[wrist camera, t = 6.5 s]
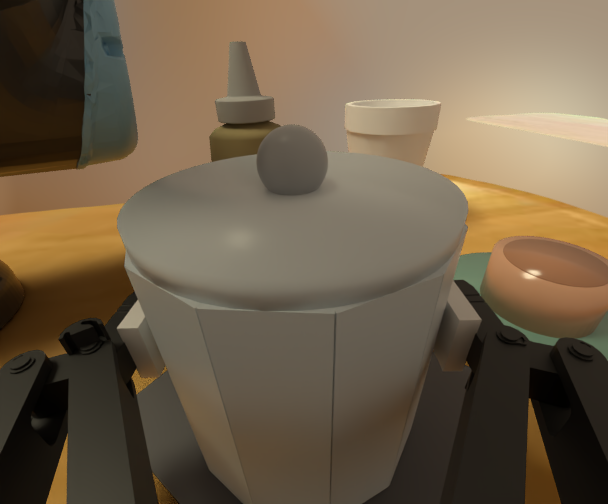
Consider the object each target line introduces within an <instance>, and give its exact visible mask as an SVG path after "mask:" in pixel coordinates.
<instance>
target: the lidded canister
mask: <svg viewBox="0 0 608 504" xmlns="http://www.w3.org/2000/svg"><path fill="white" fill-rule="evenodd" d="M467 214H468V202H467V200H466V197H465V195H464V193H463V192H462V191H461V190H460V189H459V188H458V186H457V185H455V184H454V183H453V182H451V181H450V180H449V179H447V178H445V177H444V176H442V175H440V174H438V173H436V172H434V171H432V170H429V169H427V168H424V167H421V166H419V165H416V164H412V163H409V162H405V161H401V160H397V159H392V158H387V157H382V156H376V155H368V154H360V153H350V152H335V151H326V149H325V146H324V144H323V142H322V141H321V139H320V138H319V137H318V136H317V135H316V134H315V133H314V132H313V131H311V130H309V129H308V128H306V127H303V126H300V125H284V126H281V127H278V128H276V129H274V130H272V131H271V132H270V133H269V134H268V135H267V136H266V137H265V138H264V139H263V141H262V142H261V144H260V146H259V149H258V152H257V154H255V155H248V156H241V157H235V158H229V159H224V160H219V161H214V162H210V163H206V164H202V165H198V166H195V167H191V168H188V169H185V170H182V171H179V172H177V173H174V174H171V175H169V176H166V177H164V178H162V179H160V180H157V181H155V182H153V183H152V184H150V185H148V186H146V187H145V188H143V189H142V190H140V191H139V192H137V193H136V194H134V196H132V197H131V198H130V199H129V200H128V201H127V202H126V203H125V204H124V206H123V207H122V208H121V210H120V213H119V215H118V218H117V228H118V231H119V233H120V236H121V238H122V241H123V243H124V246H125V248H126V255H125V264H124V267H125V270H126V272H127V275H128V277H129V279H130V282H131V284H132V286H133V289H134V291H135V294H136V296H137V298H138V301H139V303H140V306H141V308H142V310H143V313H144V315H145V318H146V320H147V322H148V325H149V327H150V330H151V332H152V334H153V337H154V339H155V342H156V344H157V346H158V349H159V351H160V353H161V356H162V358H163V361H164V363H165V365H166V368H167V370H168V373H169V375H170V377H171V380H172V382H173V385H174V387H175V389H176V392H177V394H178V397H179V399H180V401H181V404H182V406H183V409H184V411H185V413H186V416H187V418H188V420H189V423H190V425H191V428H192V430H193V432H194V435H195V437H196V440H197V442H198V444H199V447H200V449H201V452H202V454H203V456H204V459H205V461H206V464H207V466H208V468H209V471H210V472H211V473H212V474H213V475H214V476H215V477H216V478H218V479H219V480H220V481H221V482H222V483H223V484H224V485H225V486H226V487H227V488H228V489H229V490H230V491H231V492H232V493H233V494H234V495H235V496H236V497H237V498H238V499H239V500H240V501H241V502H242V503H243V504H362V503H364V502H365V501H367V500H369V499H370V498H372V497H373V496H375V495H376V494H378V493H380V492H381V491H383V490H384V489H386V488H387V487H389V486H390V483H391V480H392V478H393V475H394V472H395V470H396V467H397V465H398V462H399V459H400V457H401V454H402V451H403V449H404V446H405V443H406V441H407V438H408V436H409V433H410V430H411V427H412V424H413V420H414V417H415V413H416V410H417V406H418V402H419V399H420V395H421V392H422V388H423V385H424V381H425V378H426V374H427V370H428V367H429V363H430V360H431V356H432V353H433V349H434V346H435V342H436V339H437V335H438V331H439V328H440V324H441V321H442V317H443V314H444V310H445V307H446V303H447V300H448V296H449V292H450V289H451V285H452V282H453V278H454V275H455V271H456V268H457V264H458V260H459V257H460V253H461V250H462V246H463V243H464V239H465V236H466V232H467V229H468V227H467V225H466V224H465V221H466V217H467Z"/></svg>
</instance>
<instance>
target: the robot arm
mask: <svg viewBox="0 0 608 504" xmlns="http://www.w3.org/2000/svg"><path fill="white" fill-rule="evenodd" d="M137 140H138V132H137V124H136V116H135V110H134V103H133V98H132V92H131V86H130V80H129V75H128V70H127V65H126V60H125V56H124V54H123V45H122V41H121V35H120V30H119V23H118V17H117V12H116V8H115V3H114V0H0V177H4V176H13V175H22V174H30V173H40V172H49V171H58V170H67V169H84V168H85V167H86V166H88V165H93V164H98V163H104V162H110V161H115V160H121V159H123V158H125V157H127V156H128V155H129V154H131V153H132V152H133V151H134V150H135V148H136V145H137ZM23 298H24V288H23V286H22V285H21V283H20V282H19V280H18V279H17V277H16V276H15V274H14V273H13V271H12V270H11V269H10V268H9V266H8V265H7V264H5V263H4V262H3V261H1V260H0V329H1V328H2V327H3V326H4V325H5V324H6V323H7V322H8V321H9V320H10V319H11V318H12V316H13V315H14V314H15V313H16V311H17V310H18V309H19V307H20V305H21V303H22V301H23ZM58 340H59V341H60V343H61V344H62V346H63V347H64V349H65V350H66V352H67V354H63V355H59V356H55V357H51V358H48V357H47V356H46V354H45V353H44V352H43V351H40V350H33V351H28V352H25V353H23V354H20V355H18V356H16V357H14V358H13V359H11V360H10V361H9V362H7V363H6V364H5V365H4V366H3V367H2V368H1V369H0V504H46V501H47V498H48V495H49V492H50V488H51V485H52V482H53V479H54V475H55V472H56V469H57V466H58V462H59V459H60V456H61V453H62V450H63V446H64V443H65V440H66V437H67V433H68V454H67V504H158V499H157V494H156V489H155V484H154V479H153V474H152V469H151V464H150V459H149V454H148V449H147V445H146V440H145V435H144V430H143V425H142V420H141V415H140V410H139V405H138V400H137V395H136V390H135V385H134V382H133V380H132V378H131V377H132V375H133V373H134V371H135V370H136V369H137V371H138V373H139V375H140V377H141V378H148V377H160V376H161V373H162V371H163V369H164V367H165V363H164V361H163V358H162V356H161V353H160V351H159V349H158V346H157V344H156V342H155V339H154V337H153V334H152V332H151V330H150V327H149V325H148V322H147V320H146V318H145V315H144V313H143V310H142V308H141V306H140V303H139V301H138V298H137V296H136V294H135V292H133V293H132V294H131V295H129V296H128V297H127V299H126V300H125V301H124V302H123V304H122V306H120V307H119V309H118V310H117V312H115V314H114V315H113V316H112V317H111V319H110V320H109V321H108V323H107V324H106V325H105V326H104V325H103V323H102V321H101V320H100V319H97V318H88V319H84V320H80V321H78V322H76V323H74V324H72V325H70V326H69V327H68V328H66V329H65V330H64V331H63V332H62V333H61V334H60V337H59V339H58ZM433 351H434V353H435V355H436V357H437V359H438V361H439V363H440V366H441V368H442V370H443V371H463V369H464V366H465V363H466V361H467V363H468V364H469V366H470V368H471V373H470V375H469V378H468V380H467V383H466V385H465V389H466V392H465V396H464V400H463V405H462V409H461V413H460V418H459V422H458V426H457V431H456V435H455V439H454V443H453V448H452V452H451V456H450V461H449V465H448V469H447V474H446V478H445V482H444V487H443V491H442V495H441V499H440V504H525V479H526V453H527V427H528V401H529V398H530V399H531V402H532V405H533V408H534V412H535V415H536V419H537V422H538V425H539V429H540V432H541V436H542V439H543V442H544V446H545V449H546V453H547V456H548V459H549V463H550V466H551V470H552V473H553V476H554V480H555V483H556V487H557V490H558V493H559V497H560V500H561V504H608V361H607V359H606V357H605V356H604V355H603V354H602V353H601V352H600V351H599V350H598V349H596V348H595V347H594V346H592V345H590V344H588V343H586V342H584V341H582V340H578V339H575V338H568V337H564V338H560V339H559V340H558V341H557V342H556V344H555V345H554V346H551V345H546V344H542V343H537V342H532V341H529V339H528V338H527V337H526V336H525V335H524V334H523V333H522V332H520V331H519V330H517V329H515V328H513V327H511V326H507V325H504V324H503V323H502V322H501V320H500V319H499V318H498V317H497V315H496V314H495V313H494V312H493V310H492V309H491V308H490V307H489V305H488V304H487V303H485V300H484V299H483V298H482V296H480V294H479V293H478V291H477V290H476V289H475V288H474V286H472V285H471V284H469V283H468V282H466V281H465V280H453V282H452V285H451V289H450V292H449V296H448V300H447V303H446V307H445V310H444V314H443V317H442V321H441V324H440V328H439V331H438V335H437V339H436V342H435V346H434V349H433Z"/></svg>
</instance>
